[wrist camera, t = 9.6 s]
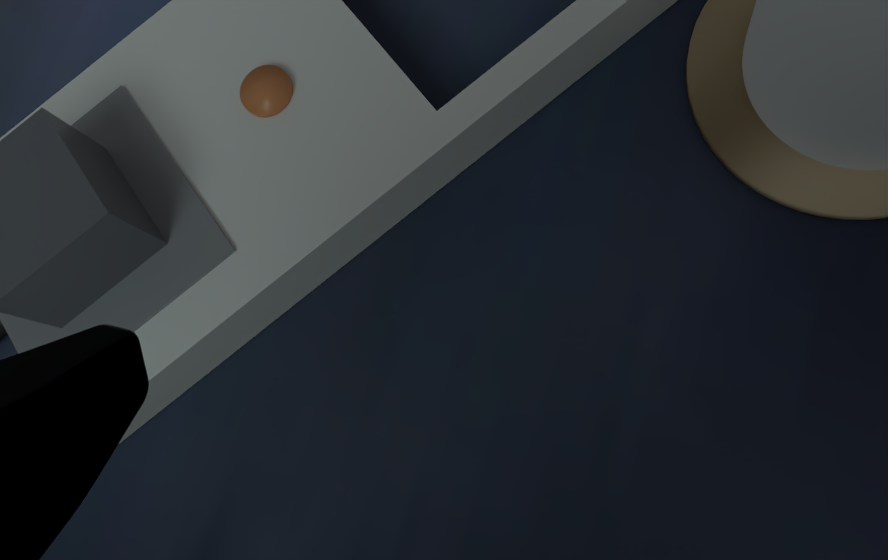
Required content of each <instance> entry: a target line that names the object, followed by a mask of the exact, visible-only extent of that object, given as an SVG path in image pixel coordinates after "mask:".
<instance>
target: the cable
mask: <svg viewBox="0 0 888 560" xmlns="http://www.w3.org/2000/svg"><path fill="white" fill-rule="evenodd" d="M6 333H7V332H6V330H5V328H4V326H3V324H2V322H1V321H0V339H1V338H2V337H3V336H4V335H5V334H6Z"/></svg>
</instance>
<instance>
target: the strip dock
mask: <svg viewBox="0 0 888 560" xmlns="http://www.w3.org/2000/svg"><path fill="white" fill-rule="evenodd" d="M677 1H678V0H576V1H575V2H573V3H572V4H571V5H570V6H568V7H567V8H566V9H565V10H563V11H562V12H561V13H560V14H558V15H557V16H556V17H555V18H553V19H552V20H551V21H550V22H548V23H547V24H546V25H545V26H543V27H542V28H541V29H540V30H538V31H537V32H536V33H535V34H533V35H532V36H531V37H529V38H528V39H527V40H526V41H524V42H523V43H522V44H521V45H519V46H518V47H517V48H516V49H514V50H513V51H512V52H511V53H509V54H508V55H507V56H506V57H504V58H503V59H502V60H501V61H499V62H498V63H497V64H496V65H494V66H493V67H492V68H491V69H489V70H488V71H487V72H485V73H484V74H483V75H482V76H480V77H479V78H478V79H477V80H475V81H474V82H473V83H472V84H470V85H469V86H468V87H467V88H465V89H464V90H463V91H462V92H460V93H459V94H458V95H457V96H455V97H454V98H453V99H452V100H450V101H449V102H448V103H447V104H445V105H444V106H443V107H441V108H440V109H439V110H438V111H436V110H435V108H434V107H433V106H432V105H431V104H430V103H429V101H428V100H427V99H426V98H425V97H424V96H423V94H422V93H421V92H420V91H419V90H418V89H417V87H416V86H415V85H414V84H413V83H412V82H411V80H410V79H409V78H408V77H407V76H406V75H405V73H404V72H403V71H402V70H401V69H400V68H399V66H398V65H397V64H396V63H395V62H394V61H393V59H392V58H391V57H390V56H389V55H388V54H387V52H386V51H385V50H384V49H383V48H382V47H381V45H380V44H379V43H378V42H377V41H376V40H375V38H374V37H373V36H372V35H371V34H370V33H369V31H368V30H367V29H366V28H365V27H364V26H363V24H362V23H361V22H360V21H359V20H358V19H357V17H356V16H355V15H354V14H353V13H352V11H351V10H350V9H349V8H348V7H347V6H346V4H345V3H344V2H343V1H342V0H172V1H170V2H169V3H168V4H167V5H165V6H164V7H163V8H162V9H160V10H159V11H158V12H157V13H155V14H154V15H153V16H152V17H151V18H149V19H148V20H147V21H146V22H144V23H143V24H142V25H141V26H139V27H138V28H137V29H136V30H134V31H133V32H132V33H131V34H129V35H128V36H127V37H126V38H124V39H123V40H122V41H121V42H119V43H118V44H117V45H116V46H114V47H113V48H112V49H111V50H109V51H108V52H107V53H106V54H104V55H103V56H102V57H101V58H99V59H98V60H97V61H96V62H94V63H93V64H92V65H91V66H89V67H88V68H87V69H86V70H85V71H83V72H82V73H81V74H80V75H78V76H77V77H76V78H75V79H73V80H72V81H71V82H70V83H68V84H67V85H66V86H65V87H63V88H62V89H61V90H60V91H58V92H57V93H56V94H55V95H53V96H52V97H51V98H50V99H48V100H47V101H46V102H45V103H43V104H42V105H41V106H40V107H38V108H37V109H36V110H35V111H33V112H32V113H31V114H30V115H28V116H27V117H26V118H25V119H24V120H22V121H21V122H20V123H19V124H17V125H16V126H15V127H14V128H12V129H11V130H10V131H9V132H7V133H6V134H5V135H4V136H2V137H1V138H0V141H1V140H2V139H3V138H4V137H6V136H7V135H8V134H9V133H11V132H12V131H13V130H14V129H16V128H17V127H18V126H19V125H21V124H22V123H23V122H24V121H26V120H27V119H28V118H29V117H31V116H32V115H33V114H34V113H35V112H37V111H38V110H39V109H40V108H44V109H45V110H47V111H48V112H50V113H52V114H53V115H55V116H56V117H58V118H59V119H61V120H63V121H64V122H66V123H67V124H69V125H70V126H72V127H73V128H75V129H77V130H78V131H80V132H81V133H83V134H84V135H86V136H87V137H89V138H91V139H92V140H94V141H95V142H97V143H98V144H100V145H101V146H103V147H105V148H106V149H107V151H108V152H109V154H110V156H111V157H112V159H113V160H114V162H115V163H116V165H117V166H118V168H119V169H120V171H121V172H122V174H123V176H124V177H125V179H126V180H127V182H128V183H129V185H130V186H131V188H132V189H133V191H134V192H135V194H136V195H137V197H138V199H139V200H140V202H141V203H142V205H143V206H144V208H145V209H146V211H147V212H148V214H149V215H150V217H151V219H152V220H153V222H154V223H155V225H156V226H157V228H158V229H159V231H160V232H161V234H162V235H163V237H164V239H165V240H166V242H167V243H168V244H167V245H165V246H164V247H163V248H162V249H160V250H159V251H158V252H157V253H155V254H154V255H153V256H152V257H150V258H149V259H148V260H147V261H145V262H144V263H143V264H142V265H140V266H139V267H138V268H137V269H135V270H134V271H133V272H132V273H130V274H129V275H128V276H127V277H125V278H124V279H123V280H122V281H120V282H119V283H118V284H117V285H115V286H114V287H113V288H112V289H110V290H109V291H108V292H107V293H105V294H104V295H103V296H102V297H100V298H99V299H98V300H96V301H95V302H94V303H93V304H91V305H90V306H89V307H88V308H86V309H85V310H84V311H83V312H81V313H80V314H79V315H78V316H76V317H75V318H74V319H73V320H71V321H70V322H69V323H68V324H66V325H65V326H64V327H63V328H58V327H54V326H50V325H47V324H43V323H39V322H35V321H31V320H28V319H24V318H20V317H16V316H12V315H9V314H5V313H1V312H0V321H1V322H2V324H3V326H4V328H5V330H6V332H7V334H8V335H9V337H10V339H11V341H12V343H13V345H14V347H15V348H16V350H17V352H18V354H19V353H22V352H25V351H28V350H30V349H33V348H36V347H39V346H41V345H44V344H47V343H50V342H53V341H55V340H58V339H61V338H64V337H67V336H69V335H72V334H75V333H78V332H80V331H83V330H86V329H89V328H92V327H94V326H97V325H101V324H109V325H113V326H117V327H121V328H125V329H129V330H131V331H133V332H135V334H136V335H137V336H138V338H139V341H140V345H141V349H142V354H143V358H144V362H145V367H146V371H147V375H148V381H149V388H148V393H147V396H146V399H145V401H144V403H143V405H142V406H141V408H140V409H139V411H138V413H137V414H136V416H135V418H134V419H133V421H132V422H131V424H130V426H129V427H128V429H127V431H126V432H125V434H124V435H123V437H122V439H121V440H120V442H119V444H120V443H121V442H122V441H123V440H125V439H126V438H127V437H128V436H130V435H131V434H132V433H134V432H135V431H136V430H137V429H139V428H140V427H141V426H142V425H144V424H145V423H146V422H147V421H149V420H150V419H151V418H152V417H154V416H155V415H156V414H157V413H159V412H160V411H161V410H163V409H164V408H165V407H166V406H168V405H169V404H170V403H171V402H173V401H174V400H175V399H176V398H178V397H179V396H180V395H181V394H183V393H184V392H185V391H186V390H188V389H189V388H190V387H191V386H193V385H194V384H195V383H197V382H198V381H199V380H200V379H202V378H203V377H204V376H205V375H207V374H208V373H209V372H210V371H212V370H213V369H214V368H215V367H217V366H218V365H219V364H220V363H222V362H223V361H224V360H226V359H227V358H228V357H229V356H231V355H232V354H233V353H234V352H236V351H237V350H238V349H239V348H241V347H242V346H243V345H244V344H246V343H247V342H248V341H249V340H251V339H252V338H253V337H255V336H256V335H257V334H258V333H260V332H261V331H262V330H263V329H265V328H266V327H267V326H268V325H270V324H271V323H272V322H273V321H275V320H276V319H277V318H278V317H280V316H281V315H282V314H283V313H285V312H286V311H287V310H289V309H290V308H291V307H292V306H294V305H295V304H296V303H297V302H299V301H300V300H301V299H302V298H304V297H305V296H306V295H307V294H309V293H310V292H311V291H312V290H314V289H315V288H316V287H318V286H319V285H320V284H321V283H323V282H324V281H325V280H326V279H328V278H329V277H330V276H331V275H333V274H334V273H335V272H336V271H338V270H339V269H340V268H341V267H343V266H344V265H345V264H347V263H348V262H349V261H350V260H352V259H353V258H354V257H355V256H357V255H358V254H359V253H360V252H362V251H363V250H364V249H365V248H367V247H368V246H369V245H370V244H372V243H373V242H374V241H375V240H377V239H378V238H379V237H381V236H382V235H383V234H384V233H386V232H387V231H388V230H389V229H391V228H392V227H393V226H394V225H396V224H397V223H398V222H399V221H401V220H402V219H403V218H404V217H406V216H407V215H408V214H410V213H411V212H412V211H413V210H415V209H416V208H417V207H418V206H420V205H421V204H422V203H423V202H425V201H426V200H427V199H428V198H430V197H431V196H432V195H433V194H435V193H436V192H437V191H439V190H440V189H441V188H442V187H444V186H445V185H446V184H447V183H449V182H450V181H451V180H452V179H454V178H455V177H456V176H457V175H459V174H460V173H461V172H462V171H464V170H465V169H466V168H467V167H469V166H470V165H471V164H473V163H474V162H475V161H476V160H478V159H479V158H480V157H481V156H483V155H484V154H485V153H486V152H488V151H489V150H490V149H491V148H493V147H494V146H495V145H496V144H498V143H499V142H500V141H502V140H503V139H504V138H505V137H507V136H508V135H509V134H510V133H512V132H513V131H514V130H515V129H517V128H518V127H519V126H520V125H522V124H523V123H524V122H525V121H527V120H528V119H529V118H530V117H532V116H533V115H534V114H536V113H537V112H538V111H539V110H541V109H542V108H543V107H544V106H546V105H547V104H548V103H549V102H551V101H552V100H553V99H554V98H556V97H557V96H558V95H559V94H561V93H562V92H563V91H565V90H566V89H567V88H568V87H570V86H571V85H572V84H573V83H575V82H576V81H577V80H578V79H580V78H581V77H582V76H583V75H585V74H586V73H587V72H588V71H590V70H591V69H592V68H594V67H595V66H596V65H597V64H599V63H600V62H601V61H602V60H604V59H605V58H606V57H607V56H609V55H610V54H611V53H612V52H614V51H615V50H616V49H617V48H619V47H620V46H621V45H622V44H624V43H625V42H626V41H628V40H629V39H630V38H631V37H633V36H634V35H635V34H636V33H638V32H639V31H640V30H641V29H643V28H644V27H645V26H646V25H648V24H649V23H650V22H651V21H653V20H654V19H655V18H657V17H658V16H659V15H660V14H662V13H663V12H664V11H665V10H667V9H668V8H669V7H670V6H672V5H673V4H674V3H675V2H677Z"/></svg>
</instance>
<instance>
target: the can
mask: <svg viewBox="0 0 888 560" xmlns="http://www.w3.org/2000/svg"><path fill="white" fill-rule="evenodd" d="M742 71H743V79H744V84H745V88H746V91H747V94H748V97H749V99H750V101H751V104H752V106H753V107H754V109H755V111H756V113H757V114H758V116H759V117H760V119H761V120H762V121H763V123H764V124H765V125H766V126H767V127H768V128H769V130H770V131H771V132H772V133H773V134H774V135H776V136H777V137H778V138H779V139H780V140H781V141H783V142H784V143H785V144H787V145H788V146H789V147H791V148H793V149H794V150H796V151H797V152H799V153H801V154H803V155H805V156H807V157H809V158H811V159H814V160H816V161H819V162H822V163H825V164H828V165H832V166H836V167H840V168H846V169H853V170H887V169H888V0H756V3H755V7H754V10H753V14H752V17H751V20H750V24H749V27H748V31H747V35H746V38H745V43H744V49H743V56H742Z"/></svg>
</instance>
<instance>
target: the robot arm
mask: <svg viewBox="0 0 888 560" xmlns="http://www.w3.org/2000/svg"><path fill="white" fill-rule="evenodd" d="M148 388H149V381H148V375H147V371H146V367H145V362H144V358H143V354H142V349H141V345H140V341H139V338H138V336H137V335H136V334H135V332H133V331H131V330H129V329H125V328H121V327H117V326H113V325H109V324H101V325H97V326H94V327H92V328H89V329H86V330H83V331H80V332H78V333H75V334H72V335H69V336H67V337H64V338H61V339H58V340H55V341H53V342H50V343H47V344H44V345H41V346H39V347H36V348H33V349H30V350H28V351H25V352H22V353H19V354H16V355H14V356H11V357H8V358H5V359H2V360H0V560H39V559H40V558H41V557H42V555H43V554H44V553H45V551H46V550H47V549H48V547H49V546H50V545H51V543H52V542H53V541H54V539H55V538H56V537H57V535H58V534H59V533H60V532H61V530H62V529H63V528H64V526H65V525H66V524H67V522H68V521H69V520H70V518H71V517H72V515H73V514H74V513H75V511H76V510H77V508H78V507H79V506H80V504H81V503H82V501H83V500H84V498H85V497H86V495H87V494H88V492H89V491H90V489H91V488H92V486H93V484H94V483H95V481H96V480H97V478H98V476H99V475H100V473H101V471H102V470H103V468H104V466H105V465H106V463H107V462H108V460H109V458H110V457H111V455H112V453H113V452H114V450H115V449H116V447H117V445H118V444H119V442H120V440H121V439H122V437H123V435H124V434H125V432H126V431H127V429H128V427H129V426H130V424H131V422H132V421H133V419H134V418H135V416H136V414H137V413H138V411H139V409H140V408H141V406H142V405H143V403H144V401H145V399H146V396H147V393H148Z"/></svg>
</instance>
